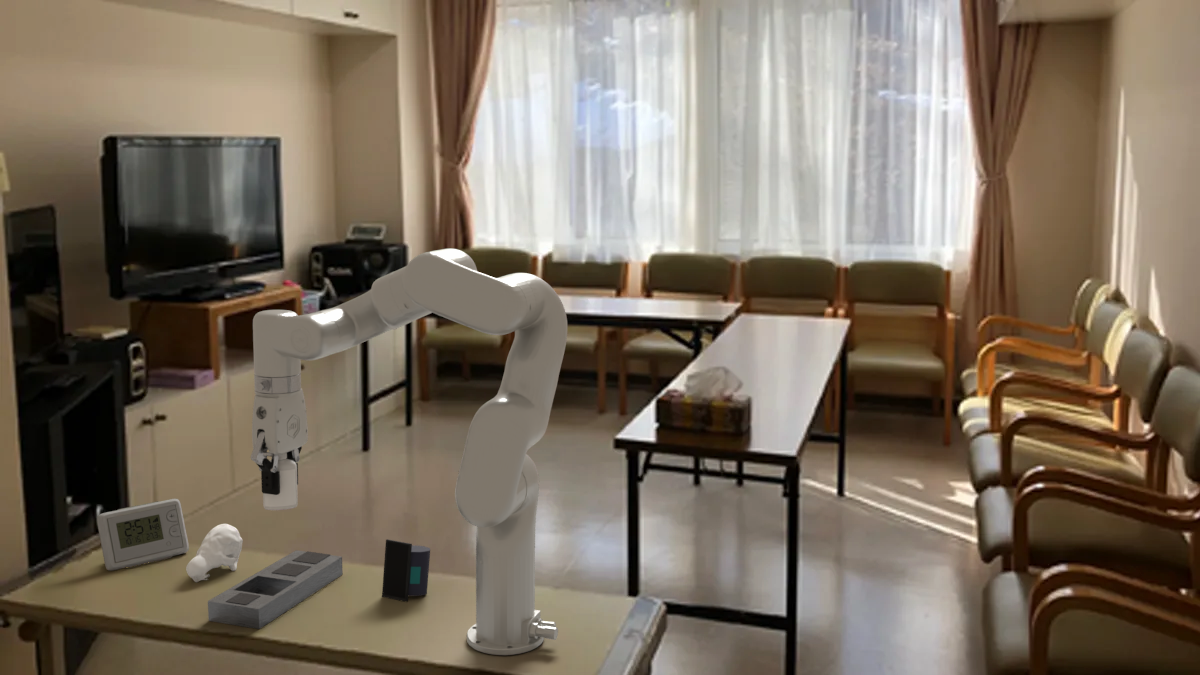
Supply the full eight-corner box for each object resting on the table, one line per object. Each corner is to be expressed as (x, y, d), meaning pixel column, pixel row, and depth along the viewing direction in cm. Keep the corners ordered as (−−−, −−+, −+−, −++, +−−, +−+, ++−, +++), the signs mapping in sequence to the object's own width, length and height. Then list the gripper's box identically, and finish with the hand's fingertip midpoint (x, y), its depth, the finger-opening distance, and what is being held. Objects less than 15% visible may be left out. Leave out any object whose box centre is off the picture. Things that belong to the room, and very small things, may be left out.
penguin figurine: (244, 522, 206) (200, 548, 195) (248, 563, 208) (205, 591, 197) (217, 518, 208) (172, 543, 198) (221, 559, 211) (178, 586, 200)
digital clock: (103, 574, 203) (100, 520, 201) (95, 559, 210) (92, 507, 208) (193, 559, 211) (191, 506, 210) (183, 545, 219) (180, 494, 217)
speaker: (399, 604, 190) (402, 546, 189) (381, 596, 194) (383, 539, 193) (435, 597, 195) (437, 540, 195) (416, 589, 199) (418, 534, 199)
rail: (342, 574, 204) (342, 556, 204) (259, 629, 180) (258, 608, 179) (296, 567, 207) (296, 549, 207) (208, 620, 183) (207, 600, 182)
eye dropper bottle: (289, 512, 182) (288, 443, 180) (259, 509, 183) (257, 440, 181) (301, 504, 186) (300, 437, 184) (271, 502, 187) (270, 434, 185)
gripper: (267, 395, 172) (270, 506, 175) (324, 376, 188) (326, 478, 191) (227, 391, 174) (230, 500, 177) (287, 373, 190) (289, 473, 193)
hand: (280, 488), depth 184 cm, fingers closed on eye dropper bottle, 4 cm apart
